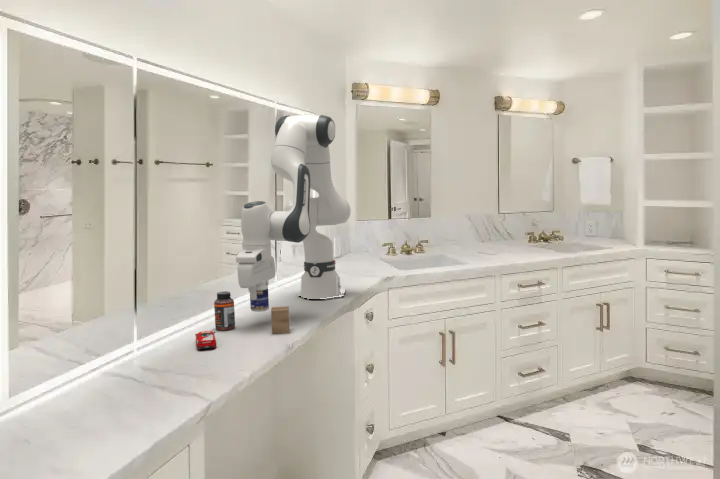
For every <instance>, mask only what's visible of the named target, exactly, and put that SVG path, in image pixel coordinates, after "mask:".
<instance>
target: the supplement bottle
mask: <svg viewBox="0 0 720 479" xmlns="http://www.w3.org/2000/svg"><path fill="white" fill-rule="evenodd" d="M231 296H232V295H231V291H218V292H216V299H215V300H214V302H213V305H214V306H213V307H214V309H213V310H214V325H215V326H214V328H215V330H216V331H221V332H222V331H223V332H224V331H230V330H233V329H235V328H236V318H235V317H236V316H235V313H236V312H235V301H234V299H233V298H231Z"/></svg>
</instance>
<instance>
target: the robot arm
mask: <svg viewBox="0 0 720 479" xmlns="http://www.w3.org/2000/svg"><path fill="white" fill-rule="evenodd" d="M274 126H275V127H274V134H275V140H274V143H273V148H272V151H271V152H272V153H271V157H270V163H271V168H272V169H273V171H274V172H275V174H277V175H278V176H280V177H282V178H283V179H285V180H287V181H289V182H292V185H293V191H292V192H293V194H292V199H290V200H287V202H286V203H285V205H284V208H283V211H282V210H281V211H280V210H275V209H272V208H271V207H269V206H268V204H267V202H266V201H263V200H262V201H261V200H257V201H256V200H255V201H251V202H248V203H245V204H244V205H243V206H242V209H241V214H240V215H241V216H240V224H241V225H240V226H241V228H240V229H241V233H242V243H241V244H242V246H241V250H240V251H239V253H238V254H237V255H236V257H235V263H237V264H238V265H237V279H238V280H237V281H238V285H239V287H240V289H247V290H248V292H249V295H250V294H251V300H256V299H258V293H257V292H256V285H258V284H261V283H262V280H263V279H266V283H265V284H266V285H267V286H269V284H270V283H269V281H270V280H271V279H274V278H275V276H276V266H275V265H276V264H275V258H274V257H273V256H272V243H271V241H277V242H278V241H279V242H291V243H295V244H296V243H297V244H299V243H301V242H302V243H303V251H304V261H303V270H304V273H303V274H302V275H301V277H300V292H299V293H297V297H298V296H301V297H300V298H302V297H303V298H302V299H304V298H307V299H306V300H309V299H320V298H327V297H333V296H339V295H344V293H342V294H341V292H340V289H341V288H342V287H341V277H340V276H339V274H338V273H337V271H336V262H337V261H336V260H335V259H334V248H333V247H334V243H333V241H332V240H331V238H330V237H328V236H327V235H325V234H323V233H320V232H319V231H317V229H316V228H317V227H318V226H319V227H320V226H321V227H322V226H337V225H342V224H344V223H347V222H348V220H349V219H350V216H351V211H352V210H351V206H350V203H349V202H348V201H347V199H346V198H344V197H343V196H341V195H340V194H339V192H338V191H337V190H336V188H335V186H334V184H333V180H332V172H331V155H330V152H331V151H330V145H331V144H332V143H333V141H334V139H335V137H336V124H335V122H334V120H333V119H332V117H330V116H327V115H324V114H321V115H317V114H296V115H284V116H283V115H282V116H281V117H280V118H278V120H277V121H276V123H275V125H274ZM311 190H313V191H315V192H317V194H318V196H317V197H311ZM344 296H345V295H344Z"/></svg>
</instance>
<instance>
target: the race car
mask: <svg viewBox="0 0 720 479" xmlns="http://www.w3.org/2000/svg"><path fill="white" fill-rule="evenodd" d="M215 334H216V332H215V331H213V330H203V331H199V332H197V333H195V334H194V335H195V343H196V344H195V345H196V349H197V350H206V349H216V348H217V339H216V335H215Z"/></svg>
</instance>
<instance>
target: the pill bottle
mask: <svg viewBox="0 0 720 479" xmlns="http://www.w3.org/2000/svg"><path fill="white" fill-rule="evenodd" d="M265 283H266V279H263V280H262V283H261V284H258V285H256V292H257V293H258V299H256V300H251V294H250V293H249V298H250V300H249V302H250V303H249V304H250V312H255V313H256V312H257V313H260V312H265V311H269V309H270V308H269V307H270V304H269V301H270V300H269V287H268V286H269V285H268V286H267V285H266V284H265Z"/></svg>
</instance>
